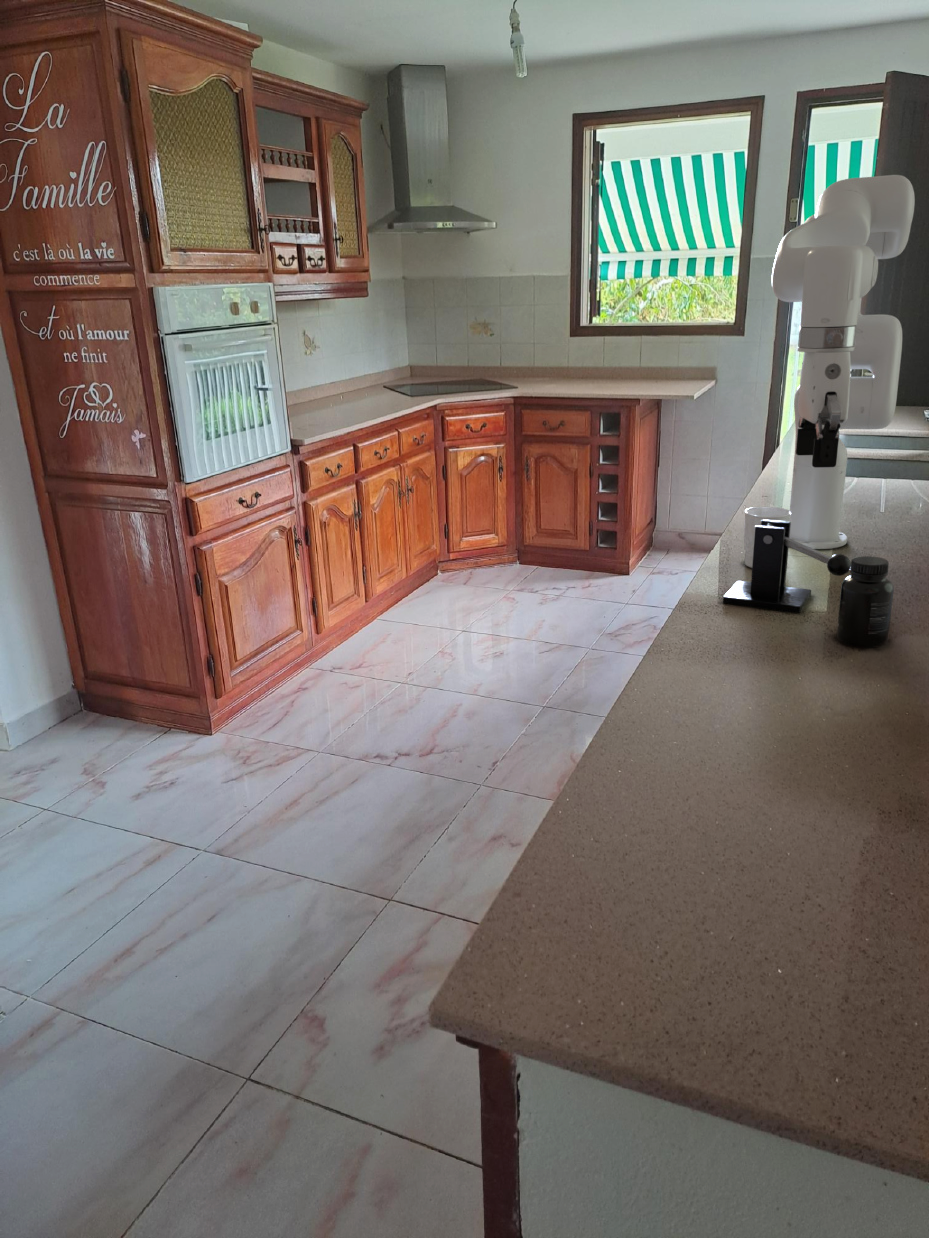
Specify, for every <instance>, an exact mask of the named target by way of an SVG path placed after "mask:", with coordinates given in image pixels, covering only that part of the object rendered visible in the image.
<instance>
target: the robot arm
mask: <svg viewBox="0 0 929 1238" xmlns="http://www.w3.org/2000/svg"><path fill="white" fill-rule="evenodd" d="M915 200H916V198H915V191H914V186H913V184H912V183H911V181H910V180H909V179H908V178H907V177H906V176H904V175H901V174H888V175H877V176H862V177H851V178H845V179H841V180H838V181H835V182H833V183H832V184H830V185H829V186H827V188H825V190H823V192H822V193H821V195H820V196H819V199H818V202H817V205H816V211H815V213H814V214H812V215H811V216H809V217H808V218H806V220H805V221H804V223H802V224H800V225H798V226H796V227H794V228H792V229H791V230H790V231H788V232H787V233H786V234H785V235H784V236H783V237H782V239H781V241H780V243H779V245H778V248H777V252H776V254H775V259H774V262H773V267H772V273H771V287H772V292H773V293H774V296H775V297H776V298H777V300H779V301H782V302H785V303H801V306H800V307H801V309H800V317H799V328H798V329H799V331H798V341H797V352H799V353H800V352H801V353H803V357H802V363H801V371H800V379H799V386H798V387H797V388H796V390H795V393H794V399H793V401H794V402H793V409H794V410H793V411H794V422H795V423H794V426H795V439H794V440H795V441H794V455H793V466H792V467H793V468H792V479H791V491H790V503H789V511H790V512H791V516H790V522H791V526H790V539H792V540H794V541H797V542H799V543H801V544H803V545H805V546H808V547H810V548H812V549H814V550H829V549H837V548H841V547H843V546H845V545H846V544H847V543H848V536H847V535H846V534H845V533H843V532H841V531H840V529H841V520H842V510H843V502H844V492H845V484H846V475H847V467H848V465H847V464H848V457H849V456H848V450H847V447H846V445H845V444H844V442H843V440H842V439H841V438H840V430H882V429H884V428H885V429H886V428H887V427H888V426H889V425H890V424H891V423H892V422H893V419H894V416H895V412H896V407H897V400H898V399H897V398H898V388H899V380H900V370H901V362H902V361H901V360H902V351H903V328H902V323H901V321H900V320H899V319H898V318H897V317H896V316H894V315H891V314H862V313H861V308H862V300H863V299H862V298H863V297H865V296H866V295H868V293H869V292H870V290H871V289H872V288H874V286H875V285H876V282H877V279H878V274H879V260H886V259H887V260H889V259H893V258H896V257H898V256H900V255H901V254H902V253H903V251H904V250H905V249H906V246H907V244H908V242H909V238H910V233H911V227H912V224H913V223H912V222H913V218H914V214H915V203H916V202H915ZM851 370H867V371H869V372H871V374H872V376H851Z"/></svg>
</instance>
